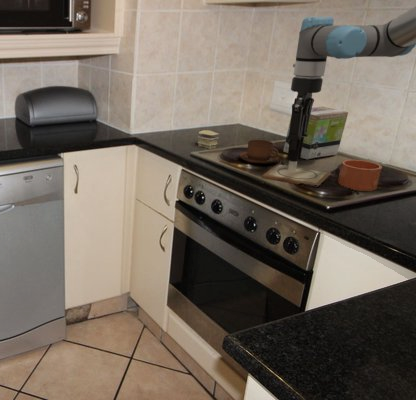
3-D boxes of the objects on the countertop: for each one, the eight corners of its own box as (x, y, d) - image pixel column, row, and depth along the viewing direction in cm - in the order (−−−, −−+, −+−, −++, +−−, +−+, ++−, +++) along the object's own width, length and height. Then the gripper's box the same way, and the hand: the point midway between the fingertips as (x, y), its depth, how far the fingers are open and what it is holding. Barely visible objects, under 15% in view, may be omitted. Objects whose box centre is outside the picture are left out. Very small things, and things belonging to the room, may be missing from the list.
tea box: (308, 160, 153) (318, 115, 148) (282, 152, 162) (290, 108, 156) (338, 154, 160) (349, 110, 154) (311, 147, 168) (321, 105, 162)
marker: (296, 170, 141) (304, 126, 136) (294, 172, 139) (302, 128, 135) (288, 168, 142) (295, 125, 138) (286, 170, 141) (293, 127, 136)
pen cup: (379, 184, 131) (384, 163, 129) (373, 193, 125) (378, 171, 123) (341, 178, 137) (346, 157, 135) (334, 186, 130) (338, 165, 128)
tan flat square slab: (330, 175, 139) (331, 172, 139) (318, 188, 129) (319, 184, 129) (277, 166, 148) (277, 163, 148) (261, 177, 138) (262, 174, 138)
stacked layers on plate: (226, 149, 168) (228, 133, 166) (208, 152, 164) (210, 137, 162) (204, 143, 176) (206, 128, 174) (187, 146, 172) (188, 131, 170)
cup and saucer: (281, 159, 155) (284, 141, 153) (274, 168, 146) (277, 149, 143) (243, 154, 161) (245, 136, 159) (234, 163, 152) (236, 144, 150)
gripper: (301, 73, 139) (287, 151, 147) (285, 78, 128) (271, 162, 137) (329, 75, 134) (314, 155, 143) (315, 80, 124) (299, 167, 132)
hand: (293, 159), depth 140 cm, fingers closed on marker, 2 cm apart
